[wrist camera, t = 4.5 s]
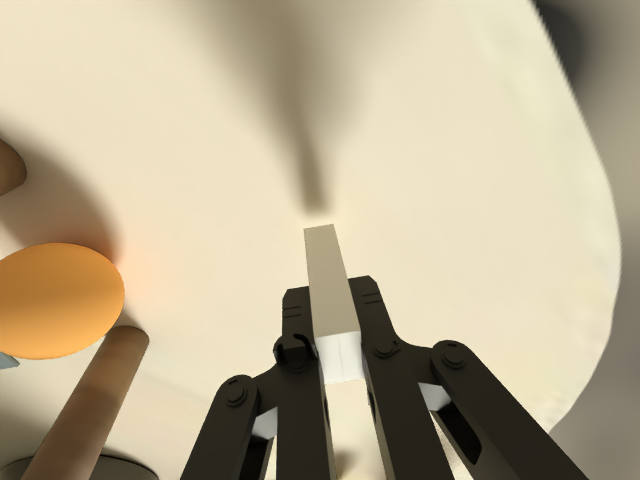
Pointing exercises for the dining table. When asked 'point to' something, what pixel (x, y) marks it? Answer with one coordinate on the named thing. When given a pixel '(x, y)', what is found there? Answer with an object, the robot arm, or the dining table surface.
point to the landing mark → (7, 361)
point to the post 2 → (90, 409)
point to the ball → (56, 300)
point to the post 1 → (10, 169)
